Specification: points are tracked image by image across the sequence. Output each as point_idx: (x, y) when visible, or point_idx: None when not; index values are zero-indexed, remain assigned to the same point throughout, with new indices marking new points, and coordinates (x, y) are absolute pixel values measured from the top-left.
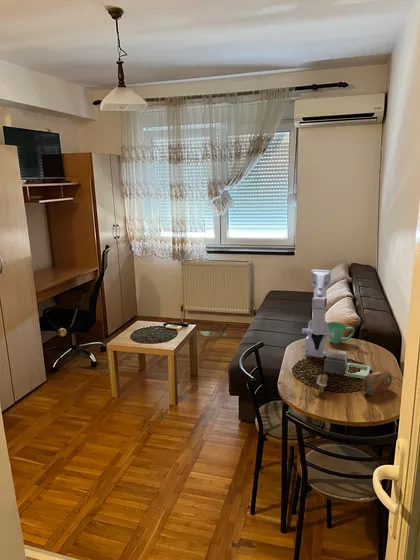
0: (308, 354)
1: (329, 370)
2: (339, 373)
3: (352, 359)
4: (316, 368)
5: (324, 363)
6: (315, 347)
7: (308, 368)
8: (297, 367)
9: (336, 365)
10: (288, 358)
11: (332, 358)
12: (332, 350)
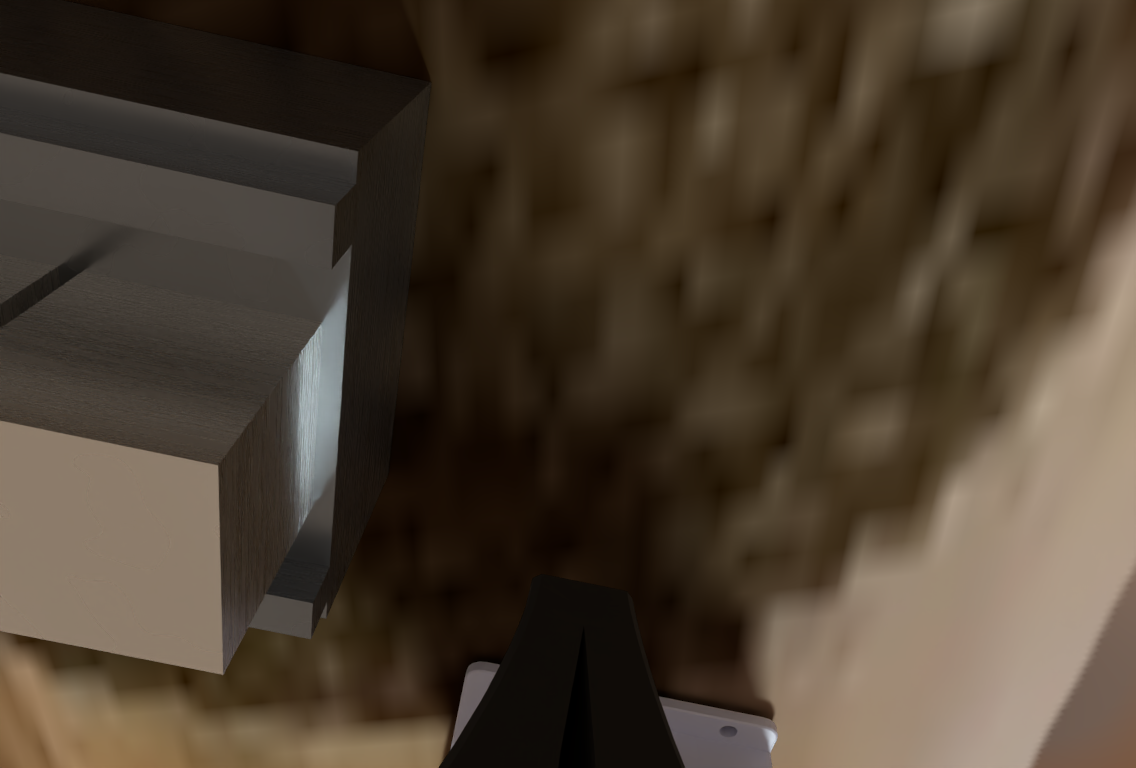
0: (709, 728)
1: (283, 66)
2: (61, 8)
3: (36, 665)
4: (591, 244)
5: (366, 135)
6: (623, 644)
7: (768, 211)
8: (1021, 216)
9: (20, 58)
10: (1104, 584)
11: (125, 319)
12: (69, 580)
